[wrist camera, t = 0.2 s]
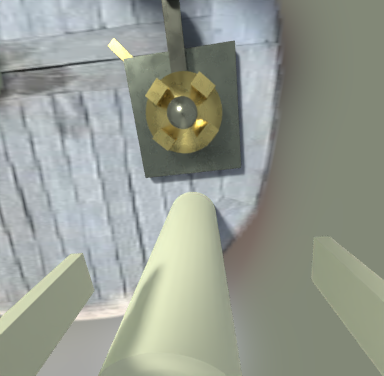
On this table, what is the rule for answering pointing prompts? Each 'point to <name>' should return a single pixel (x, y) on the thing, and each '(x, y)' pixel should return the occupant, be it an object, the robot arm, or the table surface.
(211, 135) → the ring nut
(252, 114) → the table surface
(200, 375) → the cylinder container
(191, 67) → the collar plate
